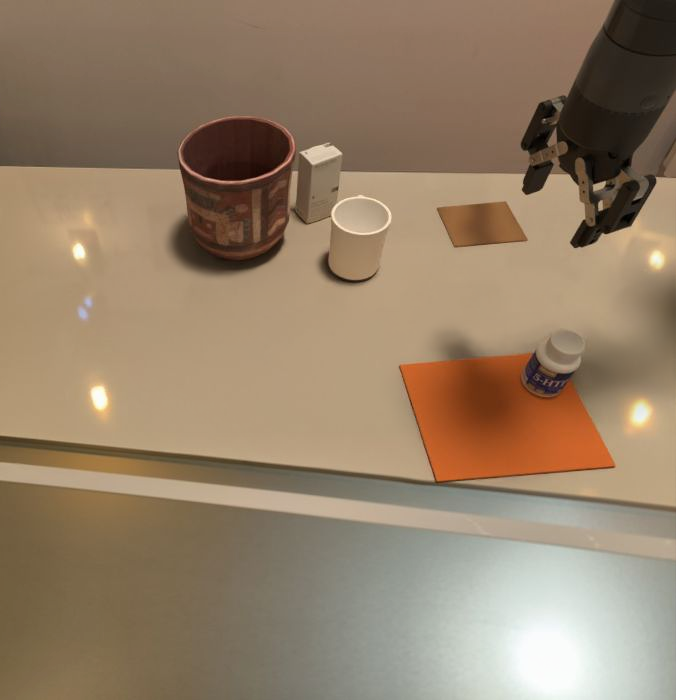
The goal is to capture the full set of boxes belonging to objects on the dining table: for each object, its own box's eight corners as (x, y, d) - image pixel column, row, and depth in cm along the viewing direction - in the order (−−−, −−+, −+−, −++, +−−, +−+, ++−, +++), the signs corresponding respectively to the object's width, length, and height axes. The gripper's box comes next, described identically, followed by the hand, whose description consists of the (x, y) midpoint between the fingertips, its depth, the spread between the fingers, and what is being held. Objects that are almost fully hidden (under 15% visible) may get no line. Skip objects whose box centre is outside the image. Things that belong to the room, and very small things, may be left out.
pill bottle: (521, 394, 81) (546, 354, 74) (519, 364, 85) (542, 322, 78) (564, 401, 80) (593, 361, 73) (560, 370, 84) (587, 328, 77)
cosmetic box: (307, 225, 106) (311, 166, 96) (294, 211, 108) (297, 151, 99) (337, 213, 107) (344, 154, 98) (323, 200, 110) (329, 140, 100)
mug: (381, 286, 96) (392, 236, 88) (324, 282, 97) (330, 233, 89) (380, 239, 102) (390, 189, 94) (327, 236, 104) (332, 187, 96)
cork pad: (505, 202, 106) (505, 201, 106) (527, 240, 100) (527, 239, 100) (436, 208, 106) (437, 207, 106) (454, 247, 100) (455, 245, 100)
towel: (554, 352, 86) (555, 351, 86) (614, 467, 75) (616, 465, 74) (399, 366, 86) (399, 364, 86) (436, 482, 75) (436, 481, 75)
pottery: (276, 282, 98) (279, 191, 84) (174, 264, 102) (161, 173, 88) (301, 213, 108) (307, 121, 94) (207, 199, 112) (200, 108, 98)
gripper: (727, 117, 48) (630, 252, 62) (609, 27, 56) (545, 165, 70) (644, 145, 48) (564, 275, 61) (535, 50, 55) (486, 184, 69)
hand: (554, 216), depth 65 cm, fingers open, 8 cm apart
